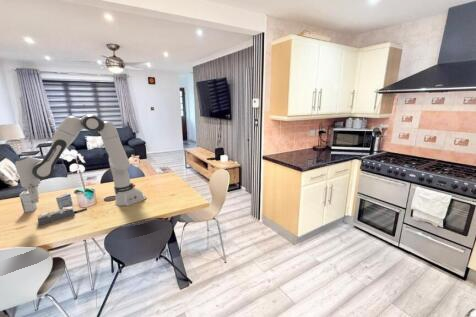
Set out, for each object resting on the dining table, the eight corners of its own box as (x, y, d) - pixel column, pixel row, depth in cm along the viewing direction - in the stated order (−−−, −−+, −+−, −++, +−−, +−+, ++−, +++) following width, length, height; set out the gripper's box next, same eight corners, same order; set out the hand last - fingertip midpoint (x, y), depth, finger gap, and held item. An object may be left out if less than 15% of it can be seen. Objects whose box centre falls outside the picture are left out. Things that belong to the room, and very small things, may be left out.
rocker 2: (60, 210, 155) (59, 208, 154) (61, 212, 152) (59, 210, 152) (51, 214, 152) (50, 212, 151) (52, 216, 150) (50, 214, 149)
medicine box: (62, 208, 167) (59, 198, 165) (58, 207, 169) (55, 197, 166) (72, 204, 174) (70, 194, 172) (69, 203, 176) (66, 193, 173)
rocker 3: (71, 208, 159) (71, 206, 159) (72, 210, 157) (72, 208, 157) (62, 209, 156) (62, 207, 156) (63, 211, 153) (63, 209, 153)
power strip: (85, 207, 168) (84, 202, 167) (87, 211, 163) (86, 206, 162) (38, 220, 151) (37, 215, 150) (39, 225, 145) (37, 219, 144)
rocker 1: (48, 213, 151) (47, 211, 150) (48, 215, 148) (47, 213, 148) (38, 217, 148) (37, 215, 147) (39, 219, 145) (37, 217, 145)
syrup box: (27, 209, 167) (22, 191, 163) (37, 207, 169) (32, 190, 165) (23, 212, 162) (18, 194, 158) (34, 211, 164) (29, 192, 160)
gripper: (37, 185, 135) (43, 205, 139) (36, 176, 150) (42, 195, 154) (23, 188, 131) (30, 209, 135) (24, 179, 146) (30, 198, 150)
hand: (36, 202), depth 145 cm, fingers closed
